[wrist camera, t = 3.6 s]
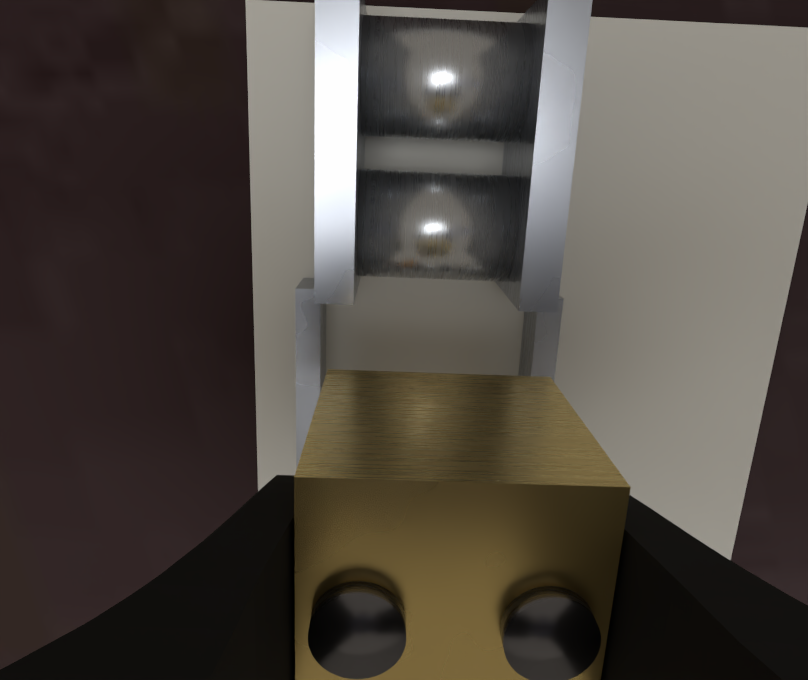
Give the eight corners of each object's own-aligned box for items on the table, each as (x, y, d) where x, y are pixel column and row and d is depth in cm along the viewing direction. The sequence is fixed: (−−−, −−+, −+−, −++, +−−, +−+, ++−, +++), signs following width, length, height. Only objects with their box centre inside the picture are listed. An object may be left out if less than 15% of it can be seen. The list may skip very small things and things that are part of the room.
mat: (836, 31, 15) (845, 29, 15) (705, 649, 20) (709, 657, 20) (248, 2, 15) (245, -1, 14) (264, 639, 20) (262, 647, 20)
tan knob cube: (529, 568, 12) (596, 770, 8) (325, 563, 12) (291, 764, 8) (549, 376, 11) (640, 500, 7) (327, 369, 11) (289, 489, 7)
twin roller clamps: (578, 28, 15) (632, -10, 11) (511, 646, 20) (535, 747, 16) (302, 14, 15) (275, -28, 11) (304, 641, 19) (285, 742, 16)
